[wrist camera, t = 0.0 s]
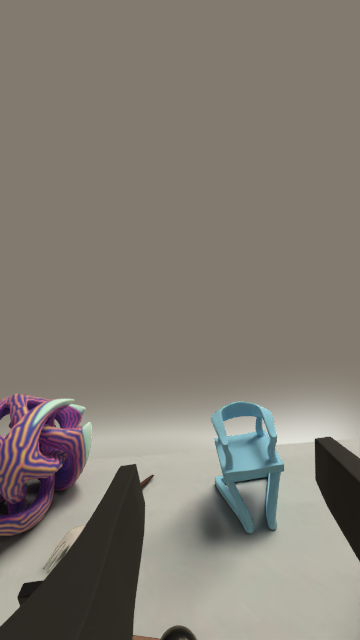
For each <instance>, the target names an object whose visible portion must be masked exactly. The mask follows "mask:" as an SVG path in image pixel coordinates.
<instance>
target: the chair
mask: <svg viewBox="0 0 360 640" xmlns="http://www.w3.org/2000/svg"><path fill="white" fill-rule="evenodd" d="M240 416H255V417H257V419H256V432H252V433H247V434H243V435H236V436H226V431H225V427H224V423H223V421H225V420H228V419H231V418H234V417H240ZM262 418H263V420H264V422H265V425H266V428H267V431H268V434H269V437H270V439H269V437H268V435H267V433H266V431H265V430H263V429H262ZM211 420H212V423H213V426H214V428H215V430H216V433H217V435H218V438H215V445H216V449H217V453H218V456H219V461H220V465H221V469H222V473H223V476H217V477H215V483H216V487H217V488H218V490H219V492H220V493H221V495H222V496H223V497H224V499H225V500H226V502H227V503H228V504H229V506H230V507H231V508H232V510H233V511H234V513H235V514H236V515H237V517H238V518H239V520H240V522H241V523H242V525H243V527H244V529H245V530H246V532H247V533H252V532H253V530H254V528H253V521H252V518H251V516H250V514H249V512H248V510H247V508H246V506H245V504H244V502H243V500H242V498H241V496H240V494H239V492H238V490H237V488H236V486H235V483H234V482H238V481H244V480H251V479H257V478H263V477H268V487H267V497H266V518H267V524H268V527H269V528H270V529H272V530H274V529H276V527H277V525H276V508H277V498H278V489H279V481H280V474H281V472H282V471H284V464H283V462H282V460H281V459H280V457H279V455H278V453H277V452H276V450H275V445H276V442H277V434H276V431H275V426H274V421H273V416H272V413H271V411H269V410H268V409H265V408H263V407H261V406H259V405H256V404H253V403H249V402H234V403H230V404H228V405H226V406H224V407H222V408H221V409H219V410H218V411H216V412H215V413H214V414H213V415H212V417H211ZM224 484H227V486H228V488H229V489H228V488H227V487H226V486H225V485H224Z"/></svg>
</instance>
